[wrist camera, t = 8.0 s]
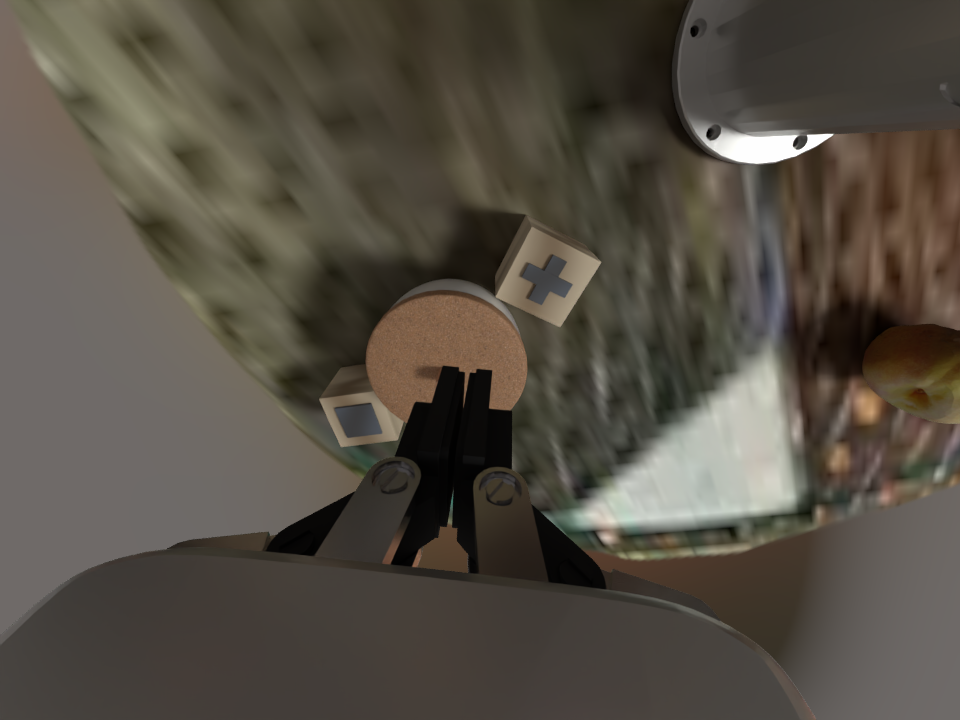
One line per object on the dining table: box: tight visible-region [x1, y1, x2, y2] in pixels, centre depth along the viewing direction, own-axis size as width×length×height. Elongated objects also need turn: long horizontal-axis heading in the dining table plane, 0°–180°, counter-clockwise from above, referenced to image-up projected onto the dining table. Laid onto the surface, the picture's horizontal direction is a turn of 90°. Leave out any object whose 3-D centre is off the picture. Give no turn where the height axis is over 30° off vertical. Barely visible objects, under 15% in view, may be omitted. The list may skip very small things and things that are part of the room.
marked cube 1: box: [319, 364, 404, 447], centre depth 33 cm, size 5×5×5 cm
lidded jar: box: [365, 279, 527, 423], centre depth 28 cm, size 11×11×9 cm
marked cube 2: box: [495, 215, 601, 327], centre depth 27 cm, size 5×5×5 cm
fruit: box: [862, 324, 960, 424], centre depth 28 cm, size 8×8×8 cm
